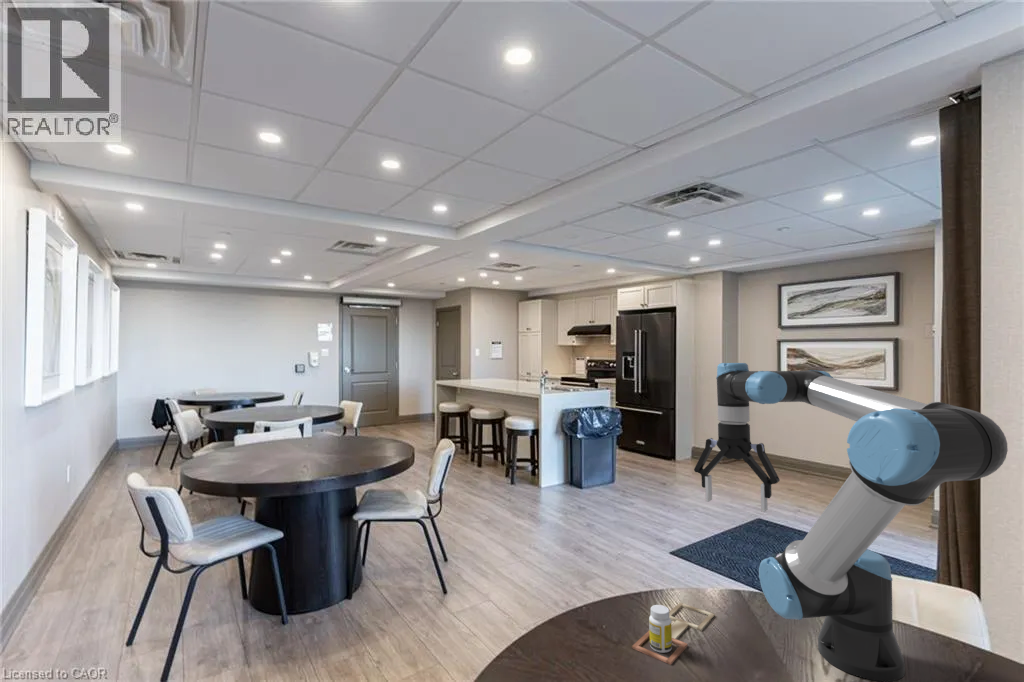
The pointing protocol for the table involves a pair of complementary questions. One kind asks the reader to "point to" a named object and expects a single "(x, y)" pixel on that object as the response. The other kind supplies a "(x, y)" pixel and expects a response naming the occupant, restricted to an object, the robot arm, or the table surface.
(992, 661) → the table surface
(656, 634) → the supplement bottle
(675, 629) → the linked wooden frames
